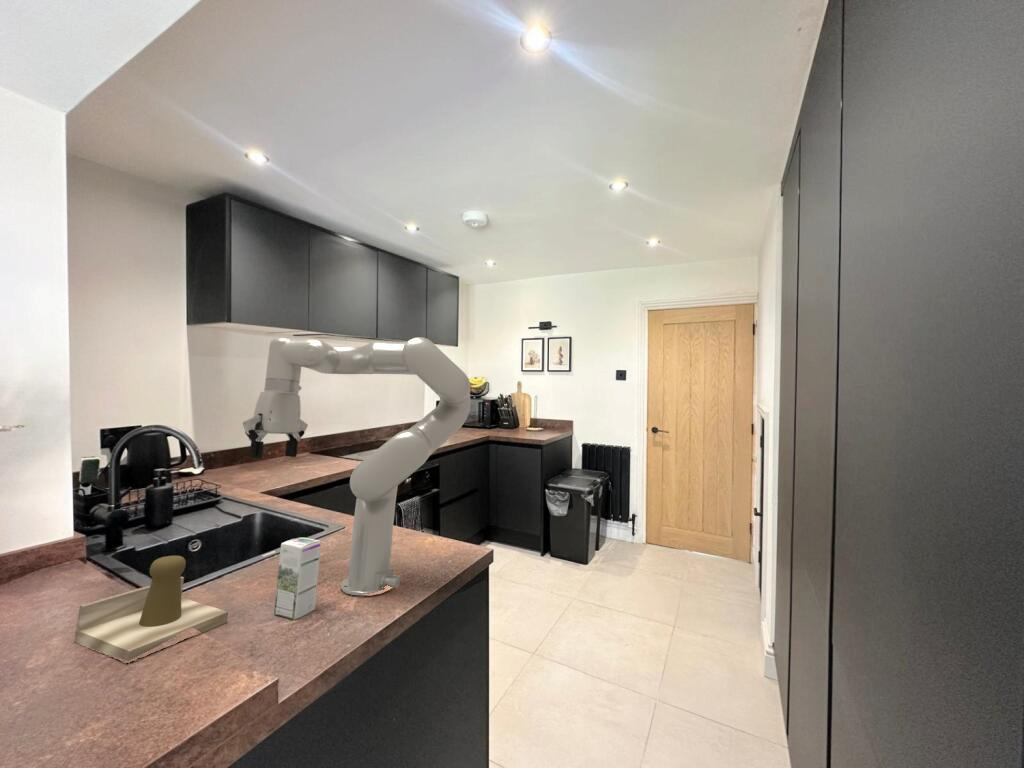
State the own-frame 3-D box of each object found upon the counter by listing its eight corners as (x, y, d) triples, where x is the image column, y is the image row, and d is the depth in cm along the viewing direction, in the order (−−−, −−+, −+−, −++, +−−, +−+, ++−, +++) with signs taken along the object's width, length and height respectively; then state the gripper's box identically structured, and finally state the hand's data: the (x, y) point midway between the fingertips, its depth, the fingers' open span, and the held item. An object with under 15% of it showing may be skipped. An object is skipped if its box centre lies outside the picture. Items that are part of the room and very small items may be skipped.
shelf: (226, 622, 81) (230, 590, 81) (127, 664, 66) (133, 624, 66) (176, 606, 86) (180, 576, 86) (74, 642, 71) (79, 605, 72)
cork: (157, 629, 73) (166, 564, 74) (129, 623, 74) (139, 560, 75) (189, 614, 79) (197, 554, 80) (164, 609, 80) (172, 550, 81)
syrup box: (316, 609, 88) (323, 539, 90) (293, 621, 83) (301, 546, 84) (295, 604, 90) (302, 535, 91) (271, 615, 84) (280, 542, 86)
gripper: (299, 391, 113) (292, 454, 111) (238, 383, 96) (228, 457, 95) (320, 392, 110) (313, 457, 108) (261, 384, 94) (251, 460, 92)
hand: (273, 457), depth 101 cm, fingers open, 9 cm apart
